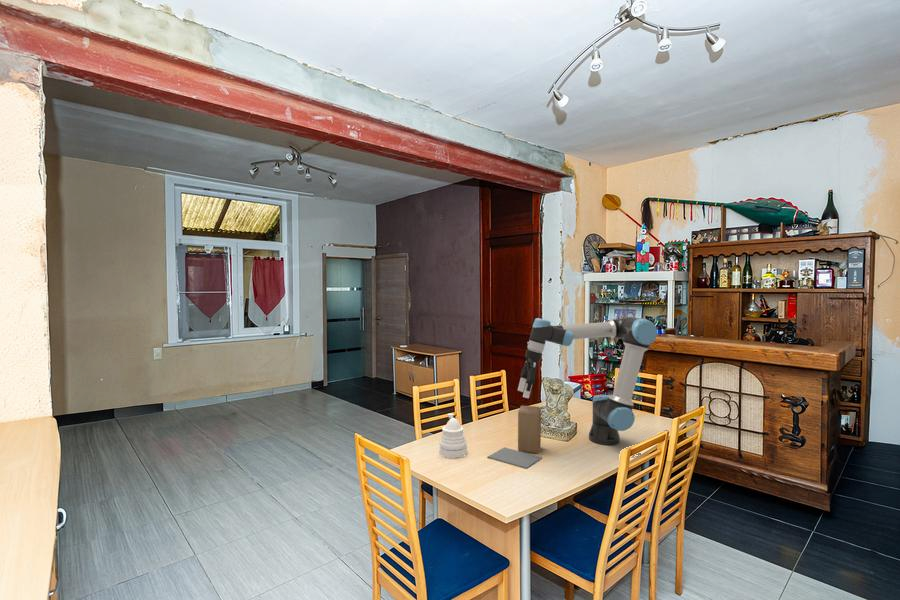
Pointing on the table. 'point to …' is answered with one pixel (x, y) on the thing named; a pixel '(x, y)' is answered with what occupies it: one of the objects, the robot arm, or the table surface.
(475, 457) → the table surface
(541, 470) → the table surface
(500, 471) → the table surface
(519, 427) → the wooden block
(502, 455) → the mat
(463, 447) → the honey pot
